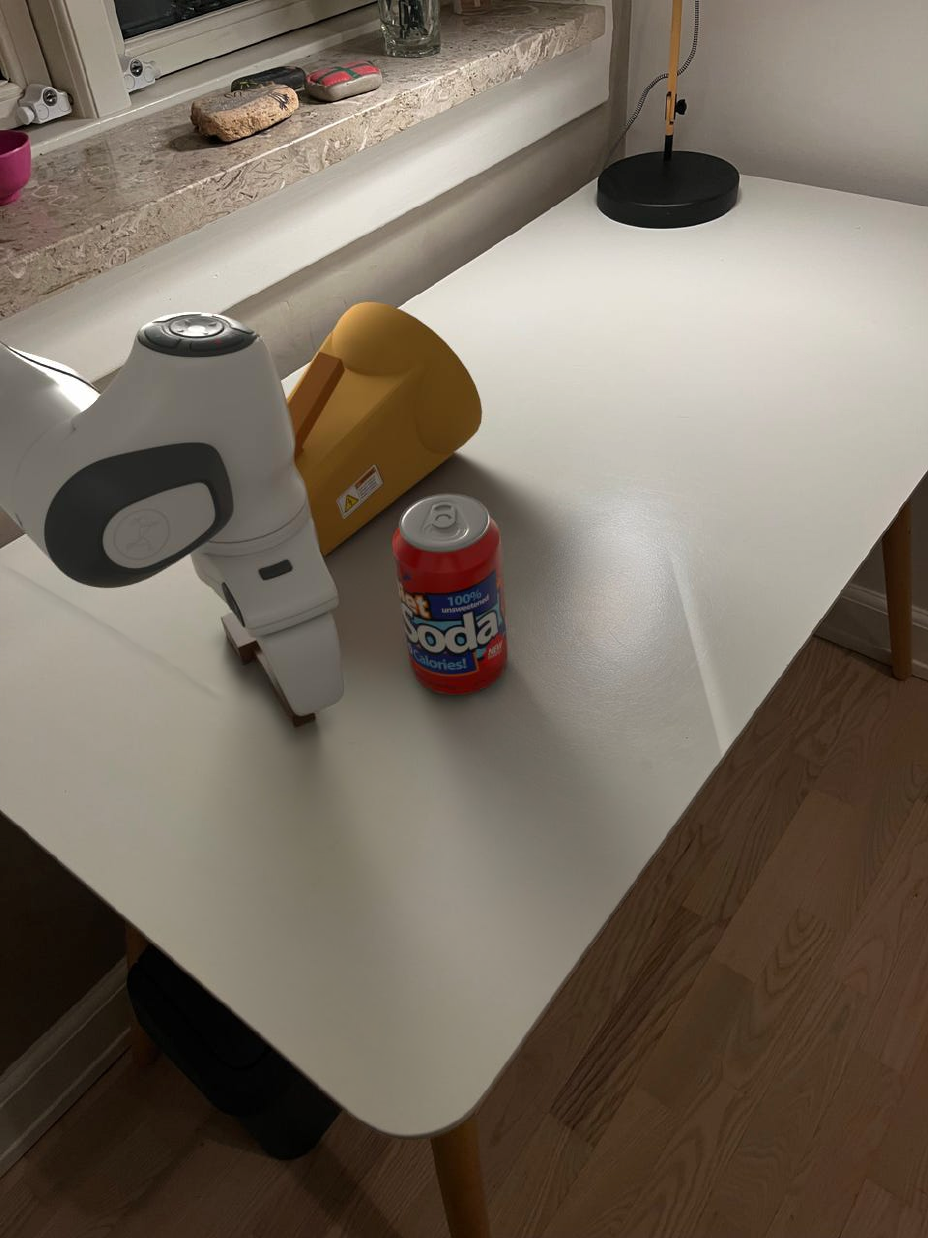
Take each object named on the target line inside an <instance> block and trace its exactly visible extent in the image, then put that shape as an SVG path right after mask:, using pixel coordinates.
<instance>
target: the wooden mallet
mask: <svg viewBox="0 0 928 1238" xmlns="http://www.w3.org/2000/svg"><path fill="white" fill-rule="evenodd" d="M220 621H221V624H222V627H223V630H224V632H225V635H226V637H227V639H228V641H229V642H230V644H231V646H232V648H233V649H234V651H235V653H236V655H237V656H238V659H239V660H240V662H241V664H242V665H246V664H249V663H251V662H253V661H256V663H257V665H258V666H259V668H260V671H261V672H262V674H263V675H264V677H265V679H266V681H267V682H268V684H269V686H270V688H271V689H272V691H273V693H274V695H275V696H276V698H277V700H278V701H279V703H280V705H281V707H282V709H283V710H284V712H285V713H286V716H287V717H288V720H289V721H290V723H291V724H292V726H293V728H294V729H296V728H299V727H301V726H304V725H306V724H308V723H310V722H312V721H315V720H316V719H317V717H316V712H314V713H311V714H308V715H304V716H298V715H297V714H295V713H294V711H293V710H292V708H291V706H290V704H289V702H288V700H287V698H286V696H285V694H284V692H283V690H282V688H281V686H280V684H279V682H278V680H277V678H276V677H275V675H274V673H273V671H272V669H271V667H270V665H269V663H268V661H267V659H266V658H265V656H264V654H263V652H262V650H261V648H260V646H259V644H258V642H257V640H256V638H251V637H250V636H249V635H248V634H247V632H246V630H245V628H244V627H242V625H241V624H240V622H239V620H238V619H237V617H236V616H235V614H234V613H233V611H231V612H229V613H227V614H225V615H222V616H220Z"/></svg>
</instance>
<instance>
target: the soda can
mask: <svg viewBox="0 0 928 1238" xmlns="http://www.w3.org/2000/svg"><path fill="white" fill-rule="evenodd" d="M502 553H503V551H502V537H501V532H500V528H499V526H498V524H497V523H496V521H495V520H494V519H493V518H492V517H491V515H490V513H489V510H488V508H487V507H486V506H485V505H484V504H483V502H481V501H479V499H476V498H474V497H472V496H469V495H466V494H462V493H461V494H460V493H453V492H451V493H447V492H446V493H437V494H432V495H429V496H425V497H423V498H420V499H418V500H416V501H414V502H413V503H412V504H409V506H408V507H406V508H405V510H404V511H403V512H402V514H401V516H400V518H399V522H398V526H397V528H396V530H395V532H394V534H393V537H392V554H393V555H392V556H393V561H394V568H395V574H396V581H397V587H398V595H399V600H400V607H401V613H402V620H403V626H404V632H405V639H406V645H407V646H406V647H407V653H408V659H409V664H410V668H411V671H412V673H413V675H414V677H415V678H416V680H417V681H418V682H419V683H420V684H421V685H422V686H424V687H426V688H427V689H429V690H431V691H434V692H436V693H439V694H442V695H443V694H444V695H452V696H453V695H454V696H459V695H460V696H461V695H469V694H473V693H476V692H478V691H481V690H483V689H485V688H487V687H489V686H491V685H492V684H493V683H494V682H495V681H497V680H498V679H499V678H500V676H501V675H502V674H503V672H504V671H505V668H506V666H507V664H508V663H507V662H508V636H507V620H506V604H505V585H504V583H505V582H504V570H503V569H504V568H503V567H504V566H503V554H502Z"/></svg>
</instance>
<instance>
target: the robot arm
mask: <svg viewBox="0 0 928 1238" xmlns="http://www.w3.org/2000/svg"><path fill="white" fill-rule="evenodd" d="M286 399H287V396H286V393H285V389H284V386H283V382H282V380H281V377H280V374H279V371H278V368H277V365H276V363H275V360H274V358H273V355H272V354H271V352H270V349H269V347H268V346H267V343H266V342H265V340H264V339H263V338H262V336H261V335H260V334H259V333H257V332H255V331H254V330H253V329H251V328H250V327H248V326H247V325H245V324H243V323H241V322H240V321H238V320H235V319H233V318H231V317H228V316H225V315H222V314H215V313H207V312H206V313H205V312H201V311H200V312H197V311H196V312H194V311H192V312H191V311H190V312H180V313H179V312H178V313H173V314H167V315H164V316H161V317H159V318H156V319H154V320H152V321H149V322H148V323H146V324H144V325H142V327H140V328H139V329H138V331H137V332H136V334H135V336H134V339H133V344H132V347H131V350H130V352H129V355H128V357H127V359H126V360H125V362H124V363H123V365H122V366H121V368H120V370H118V373H116V375H115V377H114V378H113V380H112V381H111V382H110V383H109V385H107V387H106V388H105V389H104V390H103V391H102V392H100V390H98V389H97V387H95V385H93V384H92V382H90V380H88V378H86V377H85V376H84V375H82V374H80V372H78V371H77V370H75V369H73V368H71V367H69V366H67V365H65V364H63V363H59V362H57V361H54V360H51V359H49V358H45V357H42V356H38V355H35V354H31V353H28V352H24V351H21V350H18V349H16V348H13V347H11V346H8V345H7V344H6V343H4V342H2V341H1V340H0V508H2V509H3V510H4V512H6V514H7V515H8V516H9V517H10V518H11V520H13V521H14V522H15V523H16V524H17V525H18V527H19V528H20V530H22V531H23V532H24V534H26V536H27V537H28V538H29V539H30V540H31V541H32V542H33V543H34V545H36V547H37V548H38V549H39V550H40V551H41V552H42V553H43V554H44V555H45V556H46V557H47V558H48V559H49V560H50V562H52V563H53V564H54V565H55V567H56V568H57V569H58V570H59V571H60V572H61V573H63V574H64V575H65V576H66V577H67V578H69V579H70V580H72V581H75V582H77V583H78V584H81V585H85V586H88V587H92V588H98V589H116V588H123V587H128V586H133V585H135V584H138V583H139V584H140V583H141V582H143V581H146V580H148V579H150V578H152V577H154V576H156V575H157V574H160V573H161V572H163V571H165V570H167V569H168V568H169V567H171V566H173V565H174V564H176V563H178V562H179V561H180V560H183V559H184V558H186V557H187V556H190V559H191V563H192V566H193V568H194V572H195V574H196V576H197V577H198V579H199V580H200V581H201V582H202V583H203V584H205V585H206V586H208V587H209V588H211V589H212V591H213V592H214V593H215V594H216V595H217V596H218V597H219V598H220V599H221V600H222V601H223V602H224V603H226V605H227V606H228V608H229V610H231V612H233V613H234V614H235V616H236V617H237V619H238V620H239V622H240V624H241V625H242V627H244V628H245V630H246V632H247V634H248V635H249V636H250V637H251V638H256V640H257V642H258V644H259V646H260V648H261V650H262V652H263V654H264V656H265V658H266V659H267V661H268V663H269V665H270V667H271V669H272V671H273V673H274V675H275V677H276V678H277V680H278V682H279V684H280V686H281V688H282V690H283V692H284V694H285V696H286V698H287V700H288V702H289V704H290V706H291V708H292V710H293V711H294V713H295V714H297V715H298V716H304V715H308V714H311V713H316V712H320V711H322V710H325V709H326V708H329V707H331V706H332V705H335V704H337V703H338V702H339V701H340V700H341V699H342V698H343V696H344V694H345V678H344V670H343V669H344V668H343V660H342V653H341V648H340V640H339V635H338V629H337V625H336V622H335V618H334V615H333V613H332V610H334V609H335V608H337V607H338V606H339V604H340V601H339V593H338V590H337V587H336V583H335V581H334V579H333V575H332V574H331V571H330V569H329V566H328V565H327V562H326V561H325V558H324V557H325V556H323V555H322V552H321V550H320V548H319V542H318V537H317V532H316V528H315V523H314V521H313V519H312V514H311V510H310V505H309V500H308V495H307V490H306V486H305V483H304V481H303V478H302V476H301V475H300V473H299V471H298V470H297V468H296V466H295V462H294V452H295V434H294V430H293V425H292V420H291V416H290V412H289V408H288V404H287V400H286Z"/></svg>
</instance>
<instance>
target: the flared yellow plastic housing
mask: <svg viewBox="0 0 928 1238" xmlns="http://www.w3.org/2000/svg"><path fill="white" fill-rule="evenodd" d="M286 400H287V404H288V408H289V412H290V416H291V420H292V425H293V430H294V434H295V452H294V462H295V466H296V468H297V470H298V471H299V473H300V475H301V476H302V478H303V481H304V483H305V486H306V490H307V495H308V500H309V505H310V510H311V514H312V519H313V521H314V523H315V528H316V532H317V537H318V542H319V548H320V550H321V552H322V555H323V557H326V556H327V555H328V554H330V553H331V552H332V551H333V550H335V549H336V548H337V547H338V546H339V545H341V544H342V543H343V542H344V541H346V540H347V539H348V538H350V537H352V535H354V534H355V533H356V532H357V531H358V530H360V529H361V528H363V526H364V525H366V524H368V523H369V522H370V521H371V520H372V519H374V518H375V517H376V516H378V514H380V513H381V512H382V511H383V510H385V509H387V508H388V507H389V506H390V505H391V504H392V503H393V502H395V501H396V500H398V499H399V498H400V497H402V495H403V494H405V493H406V492H407V491H409V490H410V489H412V487H414V486H415V485H416V484H418V483H419V482H420V481H421V480H422V479H425V477H427V476H428V475H429V474H430V473H431V472H432V471H434V470H435V469H436V468H438V467H439V466H440V465H441V464H442V463H444V462H446V460H448V459H449V458H450V457H451V456H452V455H453V454H454V452H457V451H458V450H459V449H460V448H462V447H464V446H465V444H466V443H468V442H469V440H471V438H472V437H474V436H475V435H476V433H478V431H479V428H480V426H481V424H482V419H483V407H482V402H481V400H482V399H481V398H480V394H479V391H478V389H477V385H476V384H475V381H474V380H473V378H472V376H471V374H470V372H469V370H468V369H467V367H466V366H465V364H464V363H463V362H462V360H461V358H460V357H459V356H458V355H457V353H456V352H455V351H454V350H453V349H452V348H451V346H449V344H448V343H447V342H446V340H444V339H443V338H442V337H441V336H440V335H439V334H438V333H437V332H435V331H434V330H433V329H432V328H431V327H429V326H428V325H426V324H425V323H424V322H423V321H421V320H420V319H418V318H417V317H416V316H413V315H411V314H410V313H408V312H406V311H404V310H403V309H400V308H398V307H395V306H393V305H390V304H387V303H382V302H377V301H363V302H360V303H357V304H353V305H352V306H351V307H350V308H349V309H347V310H346V311H345V313H344V314H343V315H342V316H341V317H340V318H339V320H338V321H337V323H336V325H335V327H334V329H333V330H332V332H330V333H328V336H327V337H326V338H325V340H324V341H323V343H322V344H321V346H320V347H319V349H318V351H317V352H316V354H315V355H314V357H313V358H312V359H311V361H310V362H309V364H308V365H307V367H306V368H305V370H304V371H303V373H302V374H301V376H300V378H299V379H298V380H297V382H296V384H295V385H294V386H293V388H292V389H291V391H290V393H289V394H288V396H286Z"/></svg>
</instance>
